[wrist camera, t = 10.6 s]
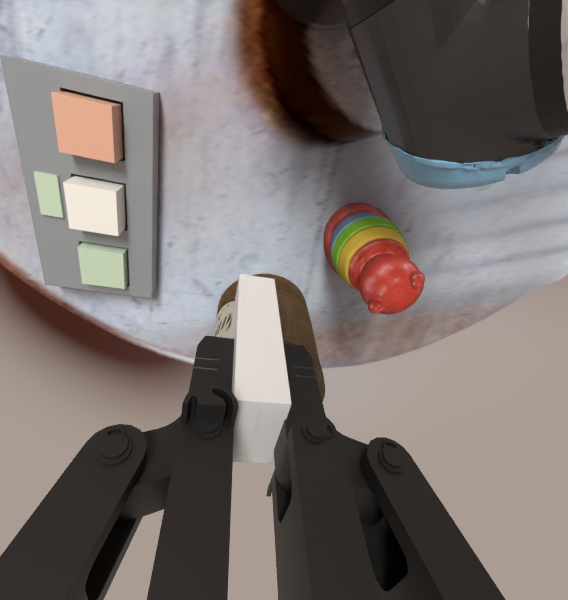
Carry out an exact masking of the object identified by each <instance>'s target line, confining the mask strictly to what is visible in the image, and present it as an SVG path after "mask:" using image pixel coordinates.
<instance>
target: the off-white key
mask: <svg viewBox="0 0 568 600" xmlns="http://www.w3.org/2000/svg"><path fill="white" fill-rule="evenodd" d="M63 186H64V193H65V200H66V208H67V215H68V222H69V228H70V229H76V230H82V231H89V232H95V233H101V234H107V235H113V236H119V235H120V234H121V233H122V231H123V230H124V229H125V228H126V213H125V187H124V185H121V184H116V183H111V182H106V181H100V180H95V179H90V178H85V177H79V176H74V177H72V178H70V179H68V180H66V181H64V182H63Z"/></svg>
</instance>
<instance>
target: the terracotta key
mask: <svg viewBox="0 0 568 600" xmlns="http://www.w3.org/2000/svg"><path fill="white" fill-rule="evenodd" d="M51 97H52V105H53V112H54V119H55V127H56V134H57V141H58V149H59V152H62V153H67V154H72V155H77V156H81V157H86V158H91V159H96V160H101V161H106V162H111V163H116V162H117V161H119V160H121V159H122V158H123V135H122V108H121V104H116V103H112V102H108V101H104V100H99V99H95V98H91V97H87V96H83V95H78V94H74V93H70V92H66V91H64V92H51Z"/></svg>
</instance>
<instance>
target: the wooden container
mask: <svg viewBox="0 0 568 600" xmlns="http://www.w3.org/2000/svg"><path fill="white" fill-rule="evenodd" d="M252 276H258V277H265V278H272V279H275V287H276V294H277V301H278V309H279V316H280V323H281V331H282V338H283V343H285V344H294V345H304V347H305V348H306V349H307V351H308V352H309V353H310V355H311V357H312V361H313V365H314V369H315V374H316V379H317V382H318V386H319V391H320V395H321V399H322V402H323V399H324V396H325V384H324V378H323V372H322V369H321V366H320V362H319V358H318V353H317V348H316V344H315V339H314V334H313V329H312V325H311V321H310V317H309V313H308V309H307V306H306V302H305V299H304V297H303V295H302V293H301V291H300V290H299V289H298V288H297V286H296V285H294V284H293V283H292V282H290V281H289V280H287V279H285V278H282V277H279V276H276V275H271V274H256V275H252ZM237 286H238V281H236V282H235V283H233V284H232V285H231V286H229V287H228V288H227V290H226V291H225V292H224V294H223V295H222V297H221V299H220V302H219V306H218V312H217V318H216V324H215V330H214V337H223V338H230V330H231V321H232V315H233V309H234V304H235V298H236V292H237Z"/></svg>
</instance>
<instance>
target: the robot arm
mask: <svg viewBox="0 0 568 600" xmlns="http://www.w3.org/2000/svg"><path fill="white" fill-rule="evenodd" d="M275 1H276V3H277V4H278V5H279V6H280V7H281V8H282V9H283V10H284V11H285V12H286V13H287V14H288V15H289V16H291V17H292V18H294V19H295V20H297V21H298V22H300V23H302V24H305V25H307V26H311V27H314V28H322V29H328V28H336V27H340V26H343V25H346V24H347V26H348V30H349V33H350V36H351V38H352V41H353V44H354V47H355V49H356V52H357V55H358V58H359V61H360V63H361V66H362V69H363V72H364V75H365V77H366V80H367V83H368V86H369V89H370V91H371V94H372V97H373V100H374V103H375V105H376V108H377V111H378V114H379V116H380V119H381V122H382V133H383V137H384V139H385V141H386V143H387V144H388V145H389V147H390V148H391V149H392V152H393V154H394V157H395V159H396V162H397V164H398V166H399V168H400V170H401V171H402V172H403V173H404V174H405V175H406V176H407V178H409V179H410V180H412V181H413V182H416V183H418V184H420V185H423V186H426V187H431V188H438V189H463V188H472V187H478V186H483V185H488V184H492V183H495V182H499V181H502V180H504V179H505V177H506V174H521V173H523V172H526V171H528V170H530V169H532V168H533V167H535V166H537V165H539V164H540V163H542V162H543V161H544V160H546V159H547V158H548V157H549V156H550V155H552V154H553V153H554V152H555V151H556V149H557V148H558V147H559V145H560V144H561V141H562V139H563V138H564V136H565V135H568V0H275ZM273 455H274V458H275V470H274V473H273V476H272V478H271V481H270V484H269V486H268V490H267V496H271V493H272V496H273V513H274V531H275V548H276V566H277V583H278V600H505V598H504V597H503V595H502V594H501V592H500V591H499V589H498V588H497V586H496V585H495V583H494V582H493V580H492V579H491V577H490V576H489V574H488V573H487V571H486V570H485V568H484V566H483V565H482V563H481V562H480V561H479V559H478V557H477V556H476V554H475V553H474V551H473V550H472V548H471V547H470V545H469V544H468V542H467V541H466V539H465V538H464V536H463V535H462V533H461V532H460V530H459V529H458V527H457V526H456V524H455V522H454V521H453V519H452V518H451V516H450V515H449V513H448V512H447V510H446V509H445V507H444V506H443V504H442V503H441V501H440V500H439V498H438V497H437V495H436V494H435V493H434V491H433V489H432V488H431V486H430V485H429V483H428V482H427V480H426V479H425V477H424V476H423V474H422V472H421V471H420V470H419V468H418V466H417V465H416V463H415V462H414V461H413V459H412V457H411V456H410V454H409V453H408V452H407V451H406V450H405V449H404V448H403V447H402V446H401V445H400V444H398V443H397V442H395V441H393V440H391V439H388V438H375V439H373V440H371V441H370V443H369V445H367V444H364V443H362V442H359V441H356V440H354V439H351V438H348V437H346V436H344V435H342V434H341V433H339V432H338V431H337V430H336V428H335V426H334V425H333V423H332V422H331V421H330V420H329V419H328V418H326V415H325V412H324V408H323V404H322V399H321V395H320V391H319V386H318V382H317V379H316V374H315V369H314V365H313V361H312V357H311V355H310V353H309V352H308V351H307V349H306V348H305V347H304V345H294V344H285V343H283V338H282V331H281V323H280V316H279V309H278V301H277V294H276V287H275V279H272V278H265V277H258V276H252V275H245V274H239V280H238V286H237V292H236V298H235V304H234V309H233V315H232V321H231V330H230V338H223V337H214V336H205V337H204V338H203V340H202V341H201V342H200V343H199V344H198V346H197V352H196V357H195V362H194V368H193V372H192V378H191V383H190V388H189V393H188V394H187V395H186V397H185V399H184V401H183V406H182V414H181V416H180V417H179V418H178V419H177V420H175V421H174V422H173V423H171V424H169V425H167V426H165V427H162V428H159V429H155V430H150V431H146V432H141V431H140V430H139V429H138V428H135V427H133V426H131V425H123V424H118V425H114V426H109V427H106V428H104V429H102V430H100V431H99V432H97V433H95V434H94V435H93V436H92V437H91V438H90V439H89V440H88V441H87V442H86V443H85V445H84V446H83V447H82V449H81V450H80V451H79V453H78V454H77V455H76V457H75V458H74V459H73V461H72V462H71V463H70V465H69V466H68V467H67V469H66V470H65V471H64V473H63V474H62V475H61V477H60V478H59V479H58V481H57V482H56V483H55V485H54V486H53V487H52V489H51V490H50V491H49V493H48V494H47V495H46V497H45V498H44V499H43V501H42V502H41V503H40V505H39V506H38V507H37V509H36V510H35V511H34V513H33V514H32V515H31V516H30V518H29V519H28V520H27V522H26V523H25V524H24V526H23V527H22V529H21V530H20V531H19V532H18V534H17V535H16V537H15V538H14V539H13V541H12V542H11V543H10V544H9V546H8V547H7V549H6V550H5V551H4V552H3V554H2V555H1V556H0V600H103V599H104V597H105V595H106V593H107V591H108V589H109V587H110V584H111V582H112V580H113V578H114V576H115V574H116V571H117V569H118V568H119V565H120V563H121V561H122V559H123V557H124V555H125V553H126V551H127V549H128V547H129V545H130V542H131V540H132V538H133V536H134V534H135V532H136V530H137V528H138V525H139V523H140V521H141V519H142V517H143V516H145V515H148V514H151V513H154V512H157V511H160V510H162V509H164V515H163V519H162V525H161V530H160V535H159V540H158V545H157V550H156V555H155V561H154V566H153V571H152V576H151V581H150V586H149V591H148V597H147V600H227V594H228V593H227V592H228V567H229V541H230V513H231V488H232V463H233V462H261V463H271V461H272V458H273Z"/></svg>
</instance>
